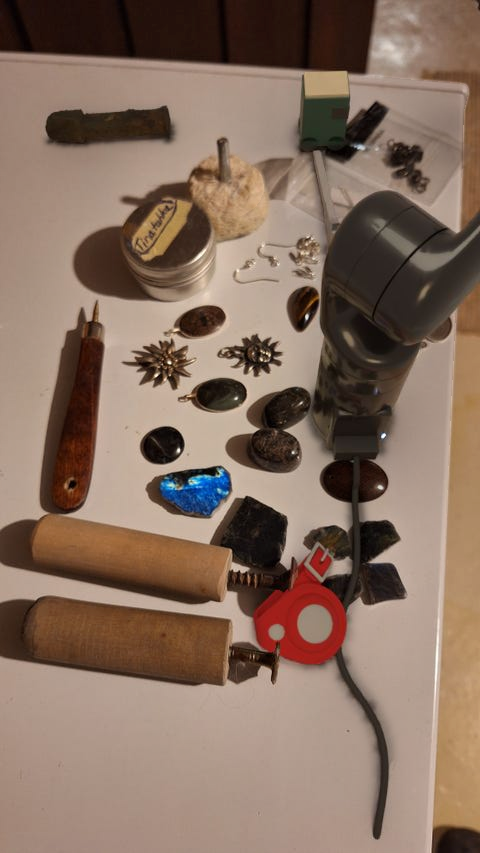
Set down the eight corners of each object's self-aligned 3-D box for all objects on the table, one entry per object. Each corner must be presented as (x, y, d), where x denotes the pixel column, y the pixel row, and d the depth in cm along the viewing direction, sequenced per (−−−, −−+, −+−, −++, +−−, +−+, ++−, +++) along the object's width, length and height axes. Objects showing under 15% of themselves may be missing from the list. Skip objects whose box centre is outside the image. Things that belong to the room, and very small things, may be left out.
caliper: (336, 262, 87) (341, 230, 81) (328, 262, 87) (333, 231, 81) (319, 152, 95) (322, 117, 89) (311, 153, 95) (315, 117, 89)
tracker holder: (362, 656, 65) (271, 679, 62) (345, 651, 69) (258, 672, 66) (337, 538, 67) (248, 555, 64) (322, 540, 71) (238, 556, 69)
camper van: (344, 151, 95) (352, 95, 86) (298, 152, 95) (302, 96, 86) (342, 126, 97) (349, 69, 88) (297, 127, 97) (300, 71, 88)
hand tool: (172, 122, 98) (168, 96, 94) (171, 141, 97) (167, 115, 93) (51, 128, 99) (42, 102, 95) (49, 146, 97) (39, 121, 93)
